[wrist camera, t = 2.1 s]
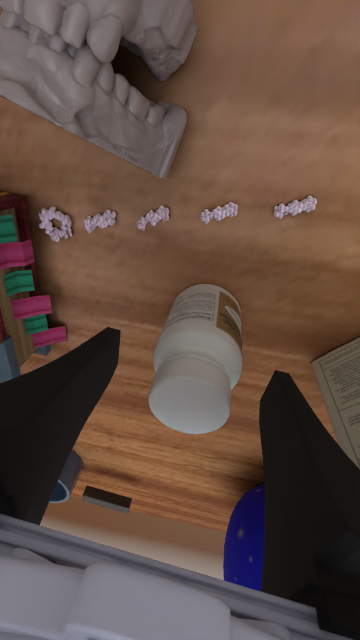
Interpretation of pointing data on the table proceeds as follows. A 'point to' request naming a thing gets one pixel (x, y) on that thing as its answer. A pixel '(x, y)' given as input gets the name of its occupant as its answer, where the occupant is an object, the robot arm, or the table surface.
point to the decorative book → (20, 292)
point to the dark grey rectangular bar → (107, 499)
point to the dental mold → (98, 70)
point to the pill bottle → (197, 360)
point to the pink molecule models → (158, 217)
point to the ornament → (246, 540)
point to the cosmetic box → (342, 394)
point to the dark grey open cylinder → (67, 479)
